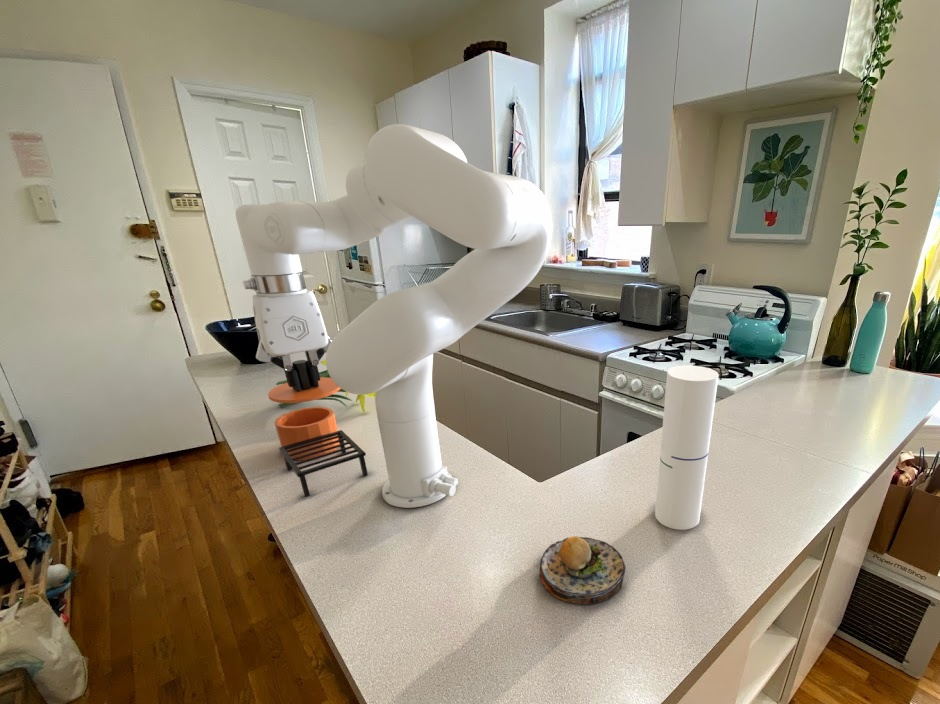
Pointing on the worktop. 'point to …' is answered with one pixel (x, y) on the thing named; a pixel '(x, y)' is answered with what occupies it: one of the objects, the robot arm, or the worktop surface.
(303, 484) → the rack
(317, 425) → the pot
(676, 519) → the cylindrical container
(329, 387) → the lid
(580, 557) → the burger
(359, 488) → the worktop surface
